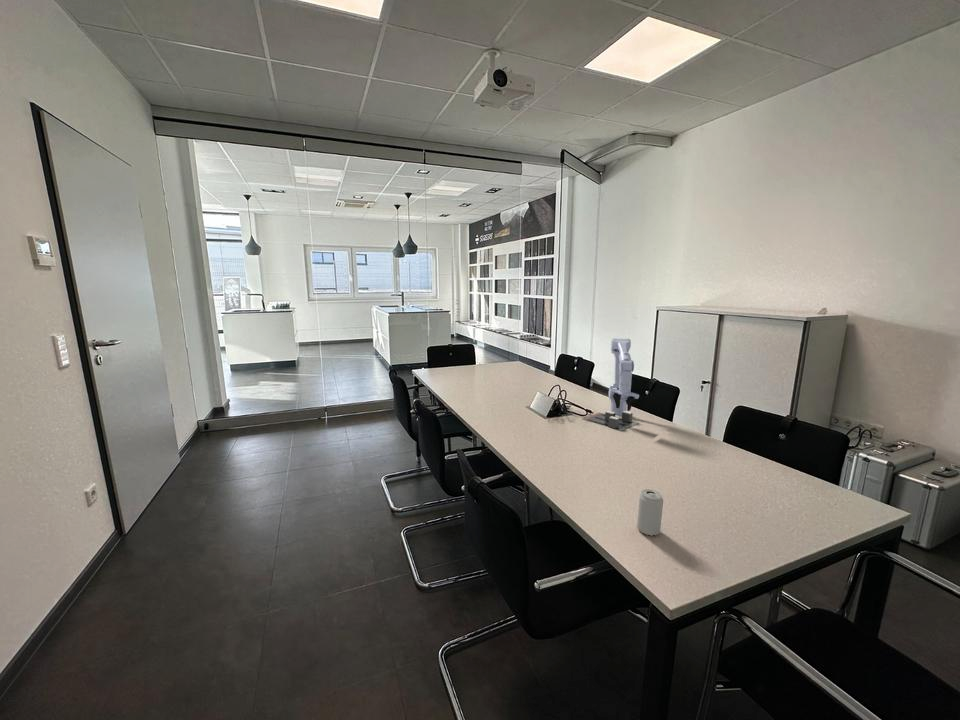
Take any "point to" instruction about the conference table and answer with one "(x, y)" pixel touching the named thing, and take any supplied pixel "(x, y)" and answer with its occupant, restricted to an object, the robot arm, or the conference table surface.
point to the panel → (600, 419)
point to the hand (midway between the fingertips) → (623, 409)
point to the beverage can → (650, 512)
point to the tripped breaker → (609, 415)
